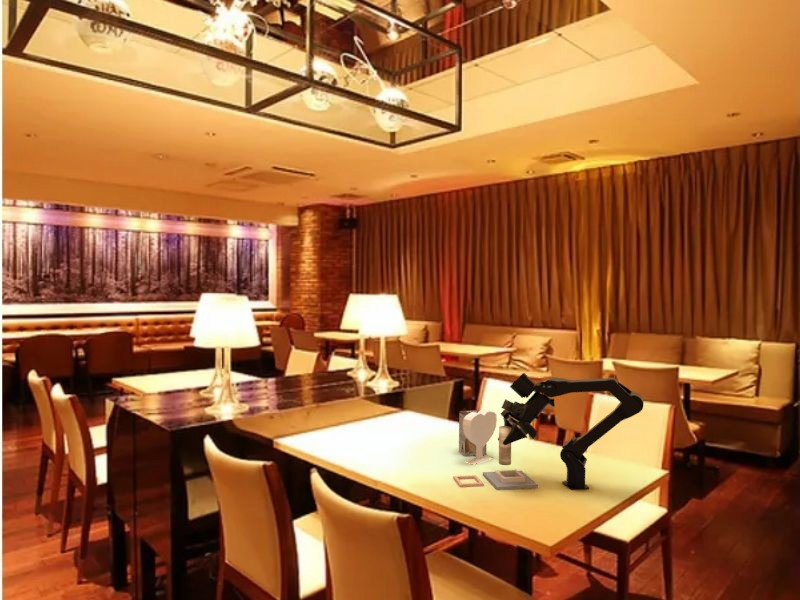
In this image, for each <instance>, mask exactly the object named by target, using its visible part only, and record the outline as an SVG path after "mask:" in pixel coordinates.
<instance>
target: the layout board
mask: <svg viewBox="0 0 800 600" xmlns="http://www.w3.org/2000/svg"><path fill="white" fill-rule="evenodd" d="M482 476H483V477H484V478H485V479H486V480H487V481H488V483H490V484H491V486H493V488H494V489H495V490H496V489H497V490H496V491H507V490H525V489H539V484H538V483H537V482H536V481H534V479H532V478H531V477H530V476H529V475H527V473H525V472H524V471H523V470H517V469H501V470H500V469H499V470H494V471H483V472H482Z"/></svg>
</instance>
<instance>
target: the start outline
mask: <svg viewBox="0 0 800 600" xmlns="http://www.w3.org/2000/svg"><path fill="white" fill-rule="evenodd" d="M452 479H453V480H454V481H455V483H456V484H457V485H458V487H459V488H466V487H467V488H469V487H473V488H474V487H485V483H484V482H483V481H482V480H481V478H479V476H478V475H477V474H475V475H474V474H472V475H471V474H470V475H468V474H467V475H453V476H452ZM471 479H472V480H473V479H474V480H475V481H476V482H465V483H463V482H462V481H461V480H471Z"/></svg>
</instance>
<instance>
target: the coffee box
mask: <svg viewBox="0 0 800 600" xmlns="http://www.w3.org/2000/svg"><path fill="white" fill-rule="evenodd" d="M480 410H481V409H475V410H459V411H458V412H459V413H458V414H459V417H458V421H459V422H458V452H459V453H460V454H461V453H462V454H463V456H464V457H471V456H473V455H475V456H476V445H475V444H473V443H472V442H470V441H469V440H468V439H467V438H466V436H465V434H464V431H463V420H464V418H465V416H466V415H468V414H469V413H471V412H476V413H478V412H479V411H480ZM462 454H461V455H462ZM483 455H484V456H487V443H486V444H485V446H484V447H483ZM483 455H482V456H483ZM473 457H474V456H473Z"/></svg>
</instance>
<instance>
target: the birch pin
mask: <svg viewBox="0 0 800 600" xmlns="http://www.w3.org/2000/svg"><path fill="white" fill-rule="evenodd" d="M510 432H511V427H509V426H504V425H500V426H499V427H498V438H499V440H498V464H499V465H501V466H510V465H511V464H512V443H510V444H507V445H504V444H503V441H504V440H505V438H506V437H507V436H508V434H509V433H510Z"/></svg>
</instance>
